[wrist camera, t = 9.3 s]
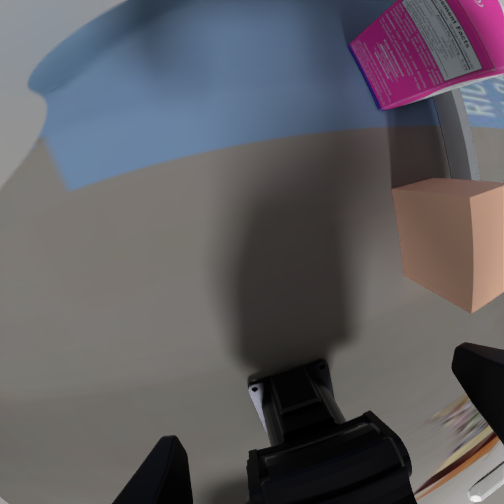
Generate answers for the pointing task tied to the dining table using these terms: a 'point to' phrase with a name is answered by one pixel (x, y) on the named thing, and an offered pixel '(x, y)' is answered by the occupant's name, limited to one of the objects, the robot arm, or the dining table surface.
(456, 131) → the curved grey bar
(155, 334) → the dining table surface
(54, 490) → the dining table surface
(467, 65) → the supplement box
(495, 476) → the white chamfered bar
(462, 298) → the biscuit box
